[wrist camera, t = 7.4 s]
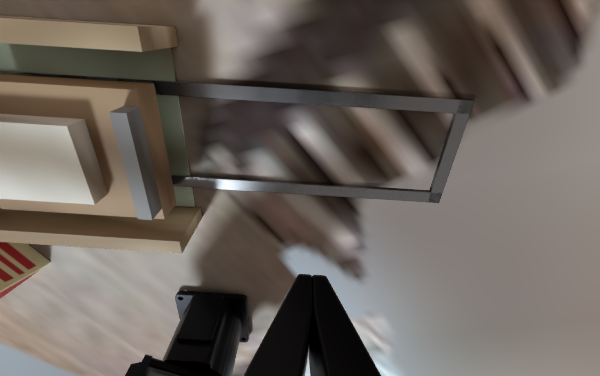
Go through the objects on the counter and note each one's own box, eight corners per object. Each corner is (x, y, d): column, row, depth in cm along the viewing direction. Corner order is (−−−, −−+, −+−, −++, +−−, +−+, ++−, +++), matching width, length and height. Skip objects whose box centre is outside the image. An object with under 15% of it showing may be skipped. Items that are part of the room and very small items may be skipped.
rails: (437, 200, 21) (438, 202, 21) (46, 175, 21) (43, 177, 21) (472, 99, 17) (474, 100, 17) (1, 70, 17) (-4, 70, 17)
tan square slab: (186, 190, 21) (155, 231, 16) (47, 181, 21) (-19, 220, 16) (168, 78, 17) (121, 95, 13) (-3, 67, 17) (-103, 80, 13)
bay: (201, 218, 22) (181, 253, 19) (22, 206, 22) (-31, 239, 19) (175, 26, 16) (137, 26, 12) (-76, 10, 16) (-185, 6, 12)
